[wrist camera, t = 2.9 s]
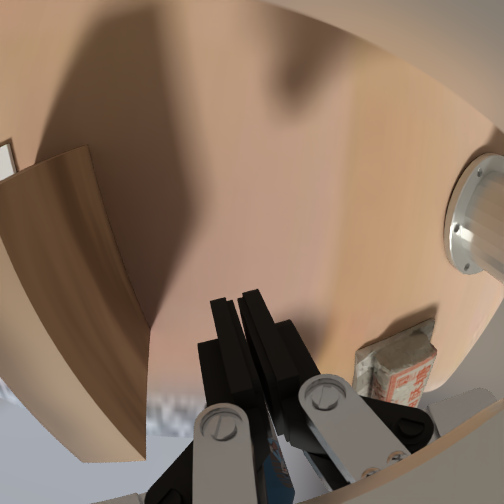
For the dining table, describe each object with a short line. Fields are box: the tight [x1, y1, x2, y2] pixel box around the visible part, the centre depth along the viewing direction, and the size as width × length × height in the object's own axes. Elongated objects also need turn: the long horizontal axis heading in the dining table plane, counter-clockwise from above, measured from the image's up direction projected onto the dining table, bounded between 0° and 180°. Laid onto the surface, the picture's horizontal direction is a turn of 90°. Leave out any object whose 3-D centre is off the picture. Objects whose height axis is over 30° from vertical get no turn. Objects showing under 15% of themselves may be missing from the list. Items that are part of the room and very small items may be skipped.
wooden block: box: [0, 144, 150, 463], centre depth 14 cm, size 4×14×11 cm, turn 9°
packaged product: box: [352, 319, 437, 408], centre depth 31 cm, size 18×5×10 cm
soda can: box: [263, 412, 295, 504], centre depth 23 cm, size 7×7×12 cm
